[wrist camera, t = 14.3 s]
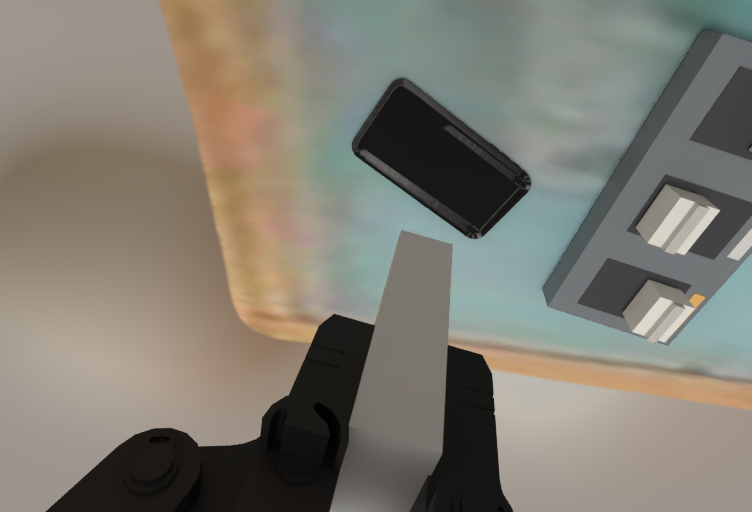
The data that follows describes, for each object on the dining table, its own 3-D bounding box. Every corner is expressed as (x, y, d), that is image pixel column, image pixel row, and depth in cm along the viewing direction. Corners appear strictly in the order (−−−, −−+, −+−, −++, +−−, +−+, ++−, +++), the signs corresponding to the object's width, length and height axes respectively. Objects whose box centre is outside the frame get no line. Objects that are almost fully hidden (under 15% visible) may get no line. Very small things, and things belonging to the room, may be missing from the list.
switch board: (701, 30, 31) (724, 33, 28) (861, 83, 31) (899, 91, 28) (542, 288, 43) (547, 307, 41) (655, 325, 44) (668, 346, 41)
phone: (476, 243, 41) (346, 149, 39) (475, 237, 42) (349, 145, 40) (537, 182, 37) (398, 72, 35) (535, 177, 38) (400, 70, 36)
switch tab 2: (648, 279, 37) (663, 301, 35) (681, 290, 38) (698, 313, 35) (622, 313, 40) (634, 336, 37) (653, 323, 40) (667, 347, 37)
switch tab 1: (666, 184, 33) (684, 200, 30) (703, 196, 33) (724, 213, 31) (635, 227, 35) (650, 246, 33) (670, 239, 35) (687, 259, 33)
